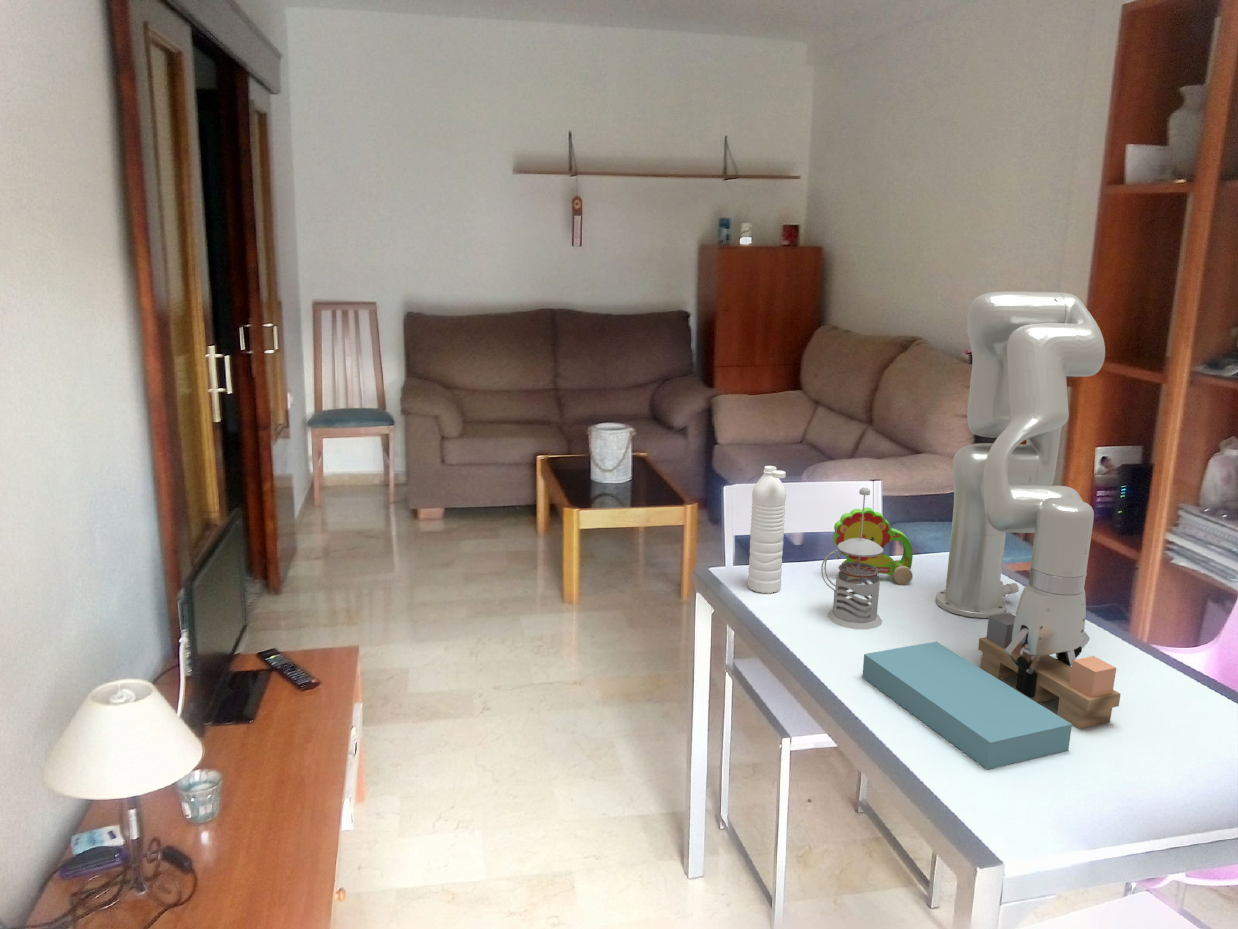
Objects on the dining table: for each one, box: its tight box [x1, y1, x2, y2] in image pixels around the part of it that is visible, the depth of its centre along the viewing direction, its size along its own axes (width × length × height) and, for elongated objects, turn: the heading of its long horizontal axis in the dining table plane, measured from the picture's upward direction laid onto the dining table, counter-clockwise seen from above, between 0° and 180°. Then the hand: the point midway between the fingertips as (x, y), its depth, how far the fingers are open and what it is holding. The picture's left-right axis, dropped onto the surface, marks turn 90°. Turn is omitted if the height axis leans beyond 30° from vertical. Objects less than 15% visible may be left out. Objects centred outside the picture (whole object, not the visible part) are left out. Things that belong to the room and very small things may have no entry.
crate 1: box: [985, 612, 1016, 649], centre depth 150 cm, size 4×4×4 cm
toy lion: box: [832, 507, 914, 586], centre depth 189 cm, size 16×5×15 cm, turn 86°
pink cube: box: [1069, 655, 1117, 698], centre depth 134 cm, size 4×4×4 cm
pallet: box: [977, 636, 1121, 730], centre depth 143 cm, size 6×22×5 cm, turn 21°
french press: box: [820, 487, 884, 630], centre depth 169 cm, size 10×12×25 cm
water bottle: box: [747, 465, 787, 594], centre depth 181 cm, size 9×6×25 cm
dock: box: [861, 641, 1073, 770], centre depth 138 cm, size 14×28×4 cm, turn 21°
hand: (1042, 688), depth 144 cm, fingers closed on pallet, 6 cm apart
